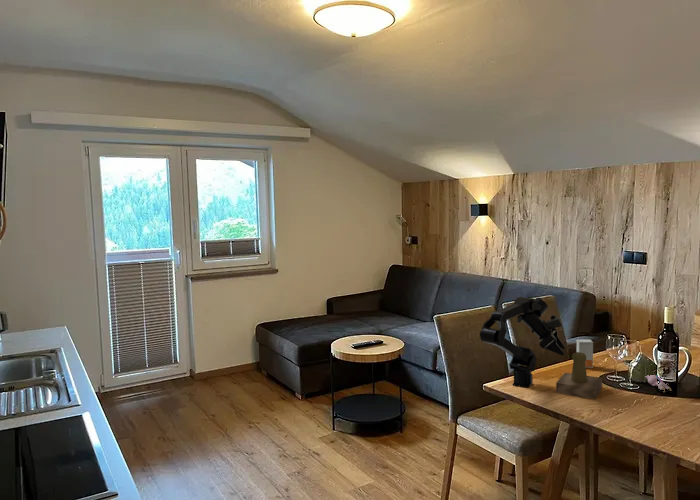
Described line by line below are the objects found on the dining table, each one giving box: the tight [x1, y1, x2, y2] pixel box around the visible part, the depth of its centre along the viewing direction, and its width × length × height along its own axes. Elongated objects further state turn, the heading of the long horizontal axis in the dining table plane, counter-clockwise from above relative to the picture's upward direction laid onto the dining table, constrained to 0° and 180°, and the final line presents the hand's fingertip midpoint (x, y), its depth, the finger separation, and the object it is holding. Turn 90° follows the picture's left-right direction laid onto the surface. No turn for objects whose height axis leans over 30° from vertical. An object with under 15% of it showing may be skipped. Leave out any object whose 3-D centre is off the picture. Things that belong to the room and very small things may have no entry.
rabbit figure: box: [644, 374, 672, 393], centre depth 203 cm, size 6×6×15 cm
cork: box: [571, 351, 588, 383], centre depth 202 cm, size 6×6×11 cm
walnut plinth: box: [555, 372, 603, 400], centre depth 203 cm, size 14×14×4 cm
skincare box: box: [576, 339, 594, 369], centre depth 230 cm, size 6×4×12 cm
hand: (564, 351), depth 209 cm, fingers open, 9 cm apart
